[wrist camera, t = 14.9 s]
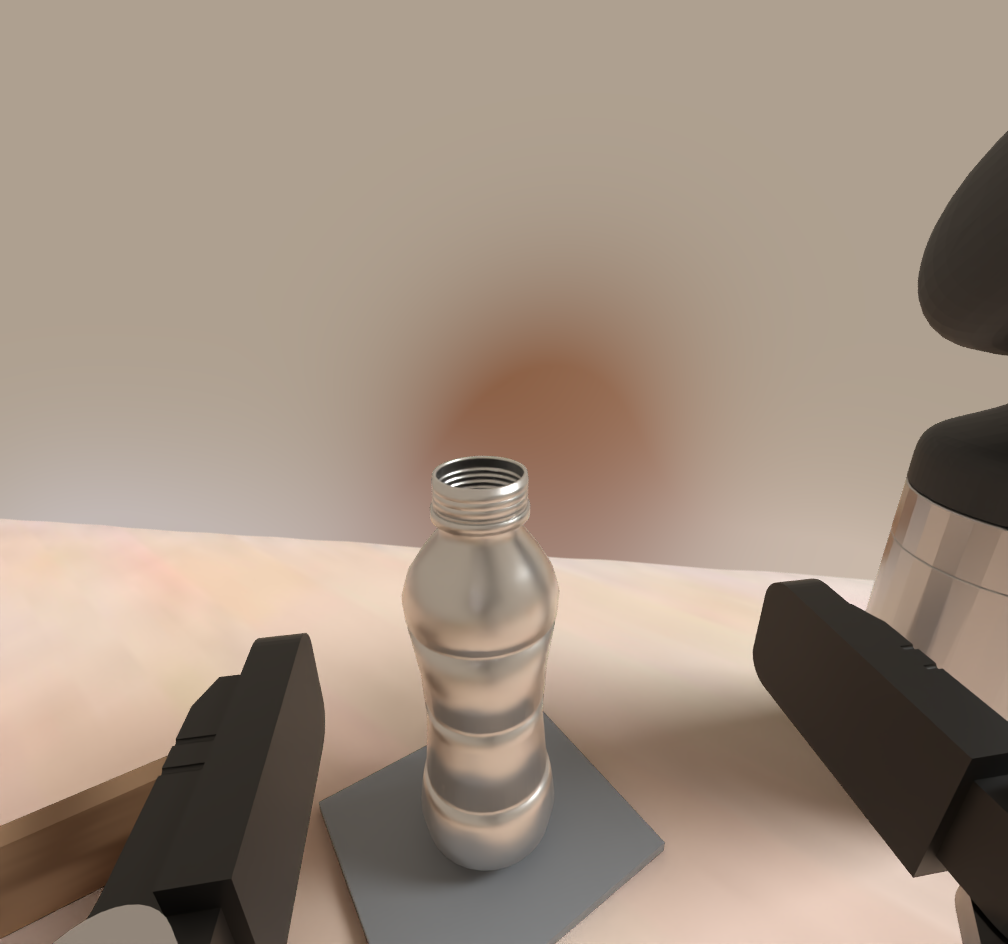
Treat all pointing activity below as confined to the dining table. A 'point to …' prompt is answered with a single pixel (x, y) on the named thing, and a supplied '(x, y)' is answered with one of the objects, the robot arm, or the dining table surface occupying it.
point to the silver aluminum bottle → (483, 663)
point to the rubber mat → (494, 893)
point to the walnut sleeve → (68, 847)
